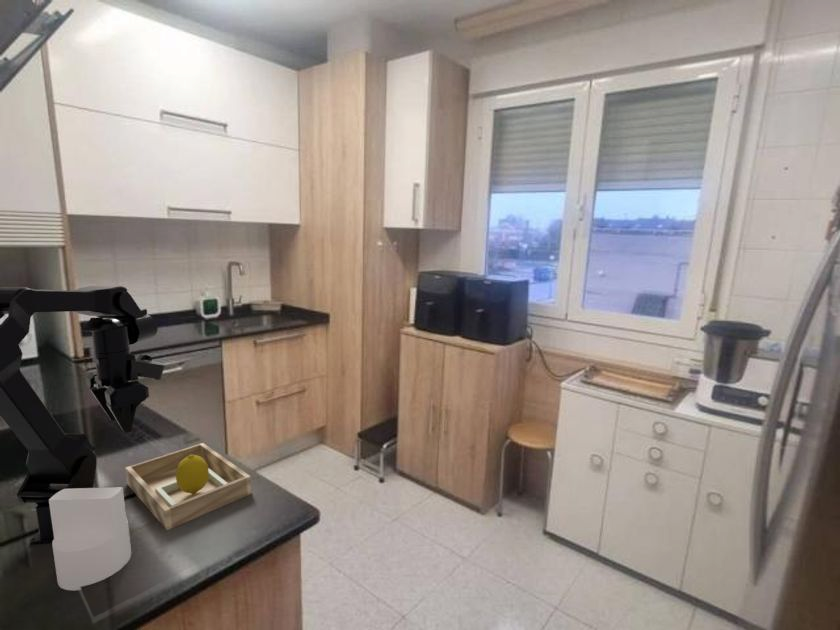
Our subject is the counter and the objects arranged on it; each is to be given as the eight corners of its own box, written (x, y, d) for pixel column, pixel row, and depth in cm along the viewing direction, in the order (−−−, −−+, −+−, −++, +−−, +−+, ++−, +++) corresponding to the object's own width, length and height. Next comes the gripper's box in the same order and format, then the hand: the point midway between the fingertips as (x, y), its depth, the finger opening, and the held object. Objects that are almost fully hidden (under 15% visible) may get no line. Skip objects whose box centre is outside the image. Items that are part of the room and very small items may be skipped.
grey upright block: (144, 546, 71) (136, 476, 69) (107, 589, 62) (97, 510, 60) (86, 548, 70) (77, 478, 68) (40, 591, 61) (28, 512, 60)
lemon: (197, 503, 82) (193, 463, 80) (171, 500, 83) (167, 460, 81) (216, 487, 87) (213, 449, 86) (191, 484, 88) (188, 447, 87)
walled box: (251, 495, 85) (250, 476, 84) (167, 532, 74) (165, 511, 73) (204, 459, 100) (202, 442, 99) (127, 486, 89) (125, 467, 88)
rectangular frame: (231, 492, 85) (231, 485, 85) (175, 516, 78) (174, 508, 77) (209, 475, 92) (208, 468, 92) (155, 495, 84) (154, 487, 84)
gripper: (174, 350, 86) (181, 426, 88) (143, 337, 98) (149, 404, 100) (106, 361, 78) (116, 444, 80) (81, 345, 90) (90, 418, 92)
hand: (120, 426), depth 88 cm, fingers open, 9 cm apart
